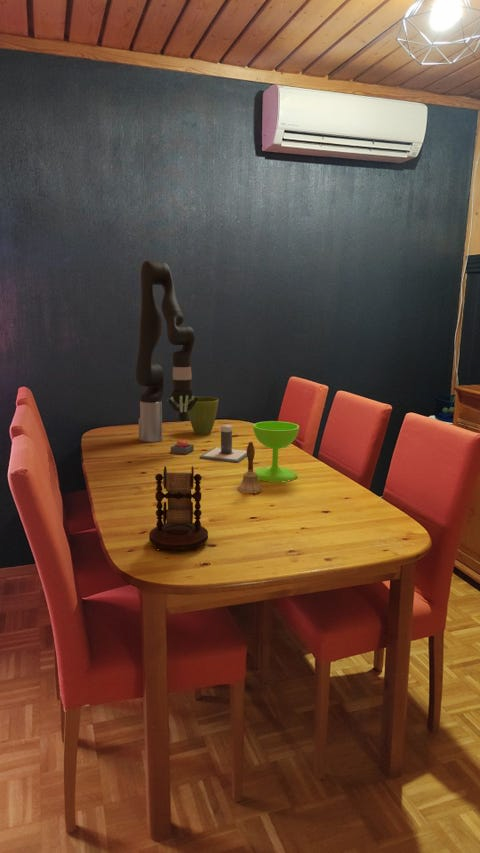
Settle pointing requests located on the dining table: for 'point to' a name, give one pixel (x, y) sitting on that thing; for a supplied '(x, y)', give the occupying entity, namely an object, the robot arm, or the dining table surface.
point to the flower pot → (203, 415)
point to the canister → (226, 439)
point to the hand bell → (250, 474)
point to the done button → (182, 443)
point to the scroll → (178, 512)
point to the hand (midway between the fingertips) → (182, 421)
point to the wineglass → (275, 447)
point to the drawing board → (225, 455)
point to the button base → (182, 449)
